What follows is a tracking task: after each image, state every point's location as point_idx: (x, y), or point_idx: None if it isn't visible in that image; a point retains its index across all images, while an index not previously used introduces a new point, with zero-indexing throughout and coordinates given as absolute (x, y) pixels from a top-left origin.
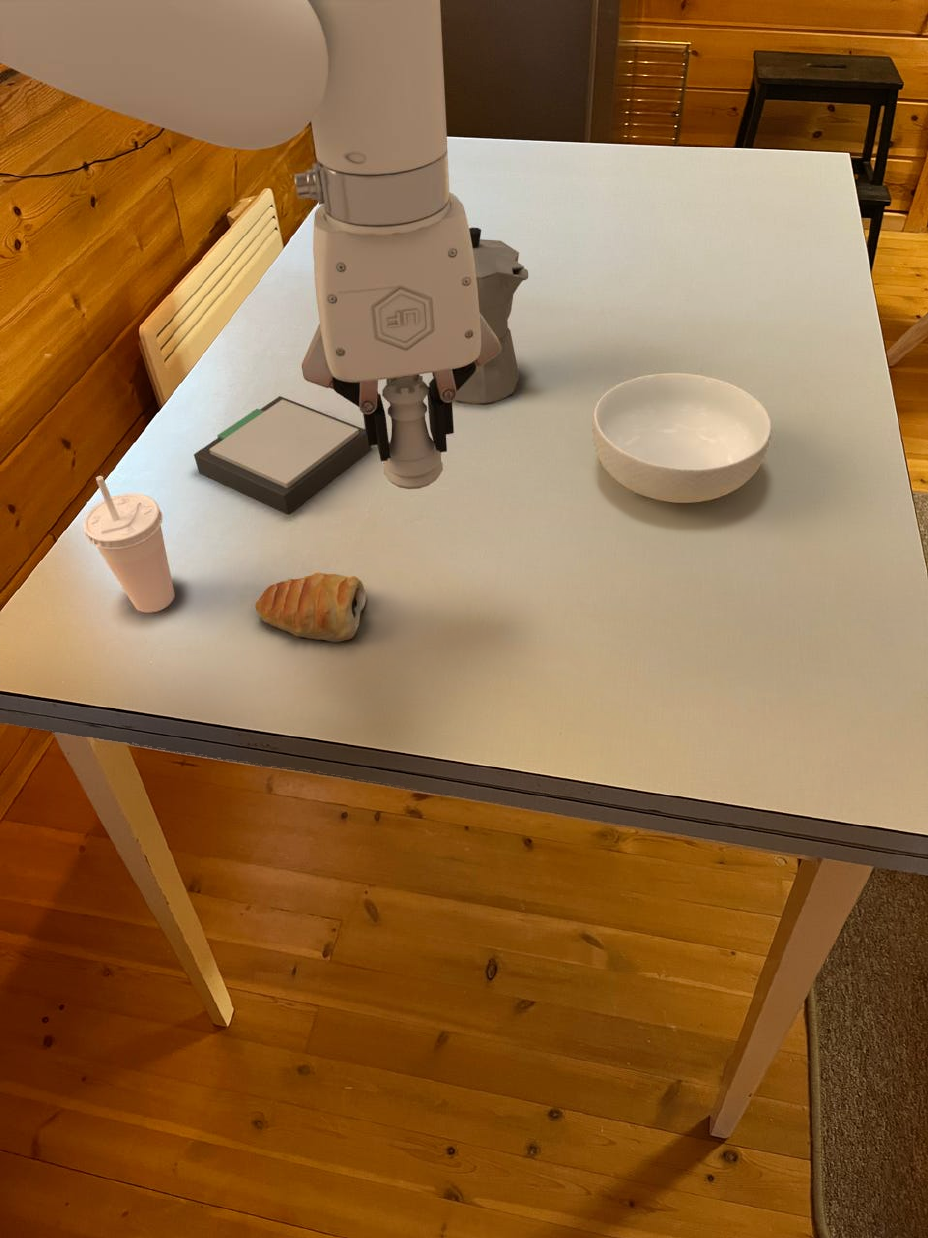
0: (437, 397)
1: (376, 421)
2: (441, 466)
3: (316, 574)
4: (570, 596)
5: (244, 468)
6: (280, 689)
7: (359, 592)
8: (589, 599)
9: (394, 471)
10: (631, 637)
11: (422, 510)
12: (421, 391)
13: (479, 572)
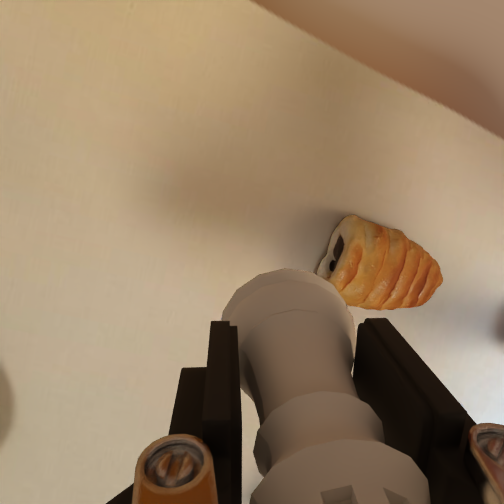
0: (219, 466)
1: (450, 394)
2: (224, 320)
3: (376, 301)
4: (79, 227)
5: None
6: (430, 164)
7: (326, 275)
8: (56, 217)
9: (341, 304)
10: (14, 141)
11: None
12: (288, 494)
13: (181, 289)
